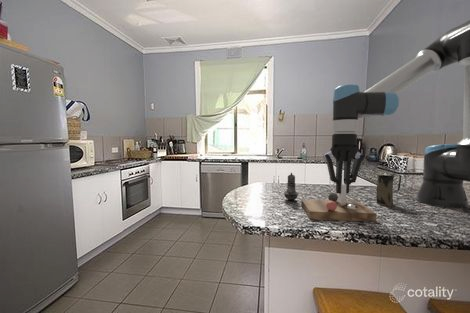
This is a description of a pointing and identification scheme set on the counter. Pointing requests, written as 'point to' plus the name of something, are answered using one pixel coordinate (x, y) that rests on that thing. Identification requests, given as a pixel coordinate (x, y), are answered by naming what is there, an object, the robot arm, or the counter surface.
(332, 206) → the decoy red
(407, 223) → the counter surface
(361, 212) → the wooden board
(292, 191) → the salt shaker
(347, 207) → the steel ball
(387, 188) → the mug
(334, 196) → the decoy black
